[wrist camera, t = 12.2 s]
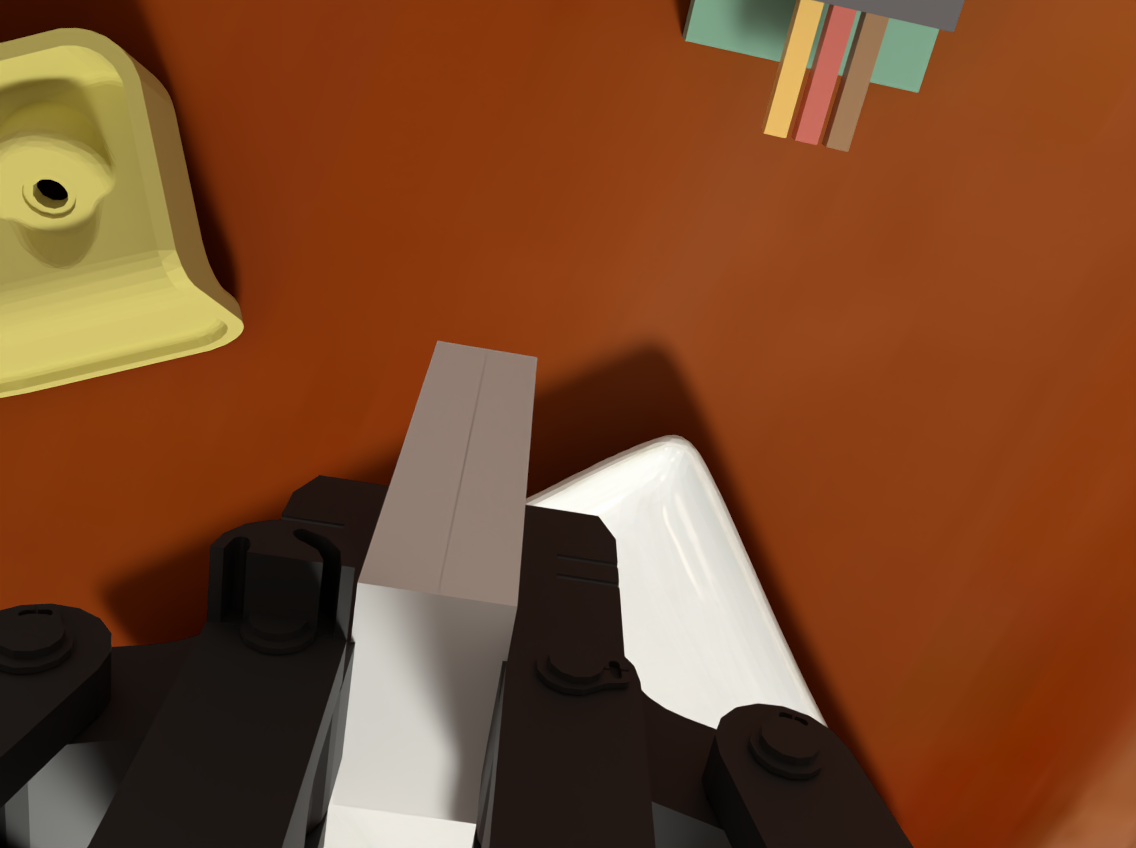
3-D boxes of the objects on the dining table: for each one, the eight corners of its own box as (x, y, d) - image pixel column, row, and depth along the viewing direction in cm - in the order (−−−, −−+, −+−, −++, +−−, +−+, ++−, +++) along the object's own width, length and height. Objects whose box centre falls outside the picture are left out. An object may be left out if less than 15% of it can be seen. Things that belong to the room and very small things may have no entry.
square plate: (424, 1019, 58) (412, 1089, 54) (124, 634, 48) (87, 689, 45) (909, 861, 52) (931, 927, 49) (681, 391, 43) (688, 431, 39)
